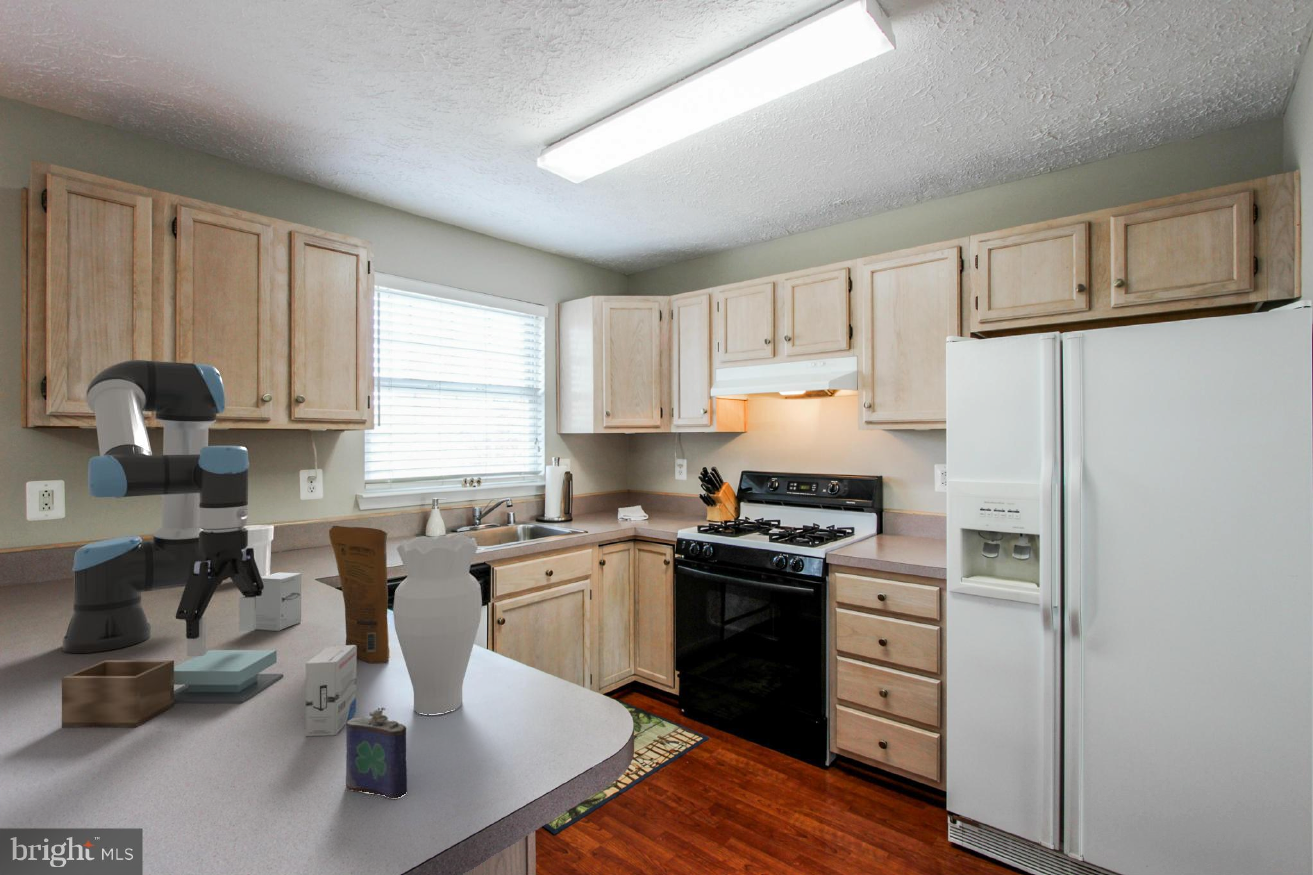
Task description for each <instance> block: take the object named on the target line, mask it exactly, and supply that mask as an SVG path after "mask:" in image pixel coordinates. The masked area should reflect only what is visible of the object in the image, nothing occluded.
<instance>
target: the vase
mask: <svg viewBox="0 0 1313 875" xmlns="http://www.w3.org/2000/svg"><path fill="white" fill-rule="evenodd" d="M478 548H479V547H478V543H477V539H475V538H474V537H472V538H470V537H469V536H467V535H463V534H458V535H456V536H454V537H453V538H450V537H448V536H445V535H444V534H442V535H439V536H438V537H436V538H433V539H432V538H429V537H428V536H425V535H423V536H416V537H414V538H413V539H411V540H410V541H407V540H406V539H404V540H403V541H402V542H401V543H400V544H399V546H398V547H397V548H396V551H397V553H398V555H399V557H400V559H401V560H400V561H402V565H403V566H404V570H405V571H406V575H407V576H406V578H405V579H403V581H401V582H400V583H399V585H398V586H397V587H396V589H395V592H394V599H393V610H392V611H393V612H392V613H393V621H394V622H393V623H394V629H395V630H394V631H395V634H396V636H397V640H398V643H399V646H400V650H401V653H402V656H403V659H404V660H403V661H404V662H405V663H404V664H405V666H406V670H407V671H408V672H407V673H408V675H409V679H410V682H411V685H412V690H413V710H415V711H416V712H418V713H423V714H427V715H429V714H437V713H445V712H447V711H451V710H454V709H456V708H458V707H459V706H460V705H461V703H462V704H463V684H464V679H465V676H466V673H467V668H468V666H469V662H470V658H471V655H472V651H473V647H474V644H475V641H476V637H477V633H478V631H479V627H480V623H481V618H482V608H483V600H482V589H481V584H480V582H479V581H478V580H477V578H476V577H475V576H473V575H472V574H471V573H470V568H471V565H472V562H473V560H474V559H475V558H474V557H475V555H476V552H477V550H478ZM461 706H462V705H461ZM461 706H460V707H461ZM460 707H459V708H460ZM459 708H458V709H459ZM456 710H457V709H456ZM415 711H414V712H415ZM454 711H455V710H454ZM416 712H415V713H416ZM418 713H417V714H418Z"/></svg>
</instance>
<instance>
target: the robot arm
mask: <svg viewBox="0 0 1313 875" xmlns="http://www.w3.org/2000/svg"><path fill="white" fill-rule="evenodd" d="M86 403H87V406H88V408H89V409H90V410H91V412H93V413H94V415H95V423H96V433H97V439H98V440H97V442H98V449H99V450H98V451H99V455H95V456H93V457H90V458H89V460H88V463H87V464H88V465H87V466H88V467H87V468H88V469H87V484H88V493H89V495H90V496H92V497H94V498H115V499H121V498H127V497H128V498H129V497H143V496H145V497H147V496H161V495H162V496H161V497H162V498H161V500H162V501H161V507H162V508H161V525H160V527H159V528H157V529H156V530H155V531H153V534H152V536H153V540H150V541H143V539H142V538H141V536H139V535H131V536H122V537H114V538H110V539H105V540H100V541H99V540H98V541H95V542H91V543H88V544H86V545H83V546H81V547H79V548H77V550H76V551H75V553H74V557H73V558H74V559H73V567H72V572H73V614H72V617H71V618H70V621H69V624H68V627H67V629H66V633H65V635H64V636H63V639H62V651H63V652H64V653H69V654H70V653H71V654H91V653H98V652H105V651H112V650H116V649H122V648H125V647H129V646H133V645H136V644H140V643H142V642H144V641H147V640H148V639H150V638H151V636H152V635H151V634H152V633H151V632H152V626H151V624H150V623H149V621H148V619H147V616H146V613H145V611H144V608H143V605H142V593H145V592H152V591H161V590H168V589H175V588H176V589H177V588H183V587H184V590H183V592H182V596H181V599H180V601H179V604H178V607H177V611H176V612H175V615H174V616H175V620H183V621H185V630H186V631H185V637H186V639H187V641H186V642H187V643H186V655H187V657H196V656H204V655H206V652H207V651H206V650H207V648H206V643H207V641H206V637H207V634H206V632H207V628H206V626H207V625H206V624H207V621H206V620H207V618H206V617H203V615H204V614H205V612H206V610H207V608H208V605H209V604H210V601H211V599H212V598H213V596H214V593H215V591H216V589H217V588H218V586H220V585H221V584H222V583H223V581H225V580H228V579H229V578H230V579H231V581H232V582H233V584H234V585H235V586H236V588H237V589H238V591H239V592H240V594H241V595H242V596H241V597H238V603H239V604H238V608H239V609H238V631H240V632H241V631H242V632H252V631H255V630H256V629H255V609H256V606H255V605H256V604H255V603H256V596H261V595H262V590H263V589H264V585H263V582H262V579H261V576H260V573H259V570H258V568H257V565H256V562H255V559H254V549H253V548H246V547H247V546H248V530H247V529H246V528H244V526H248V524H249V521H248V520H249V517H248V516H249V511H248V510H249V509H248V505H249V501H248V500H249V468H250V462H249V451H248V449H247V448H246V447H245V446H242V445H209V428H210V427H211V426H212V425H213V424H215V422H217V414H218V415H220V414H223V413H224V412H225V411H226V395H225V387H224V383H223V379H222V377H221V374H220V371H219V370H218V369H217V368H216V367H215V366H213V365H209V364H201V363H196V362H172V361H156V360H146V359H145V360H144V359H134V360H133V359H131V360H125V361H122V362H119V363H116V364H113V365H111V366H108V367H107V368H105V369H103V370H101V371H100V372H99V373H98V374H97V375H96V376H95V377H93V378H92V380H91V381H90V382H89V384H88V387H87V390H86ZM143 412H153V413H154V412H155V420H156V422H158V423H160V425H162V427H163V444H162V445H163V448H162V451H163V452H162V454H153V452H152V448H151V443H150V439H149V435H148V429H147V425H146V421H145V420H146V419H145V416H144V413H143ZM255 583H256V584H255Z"/></svg>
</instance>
